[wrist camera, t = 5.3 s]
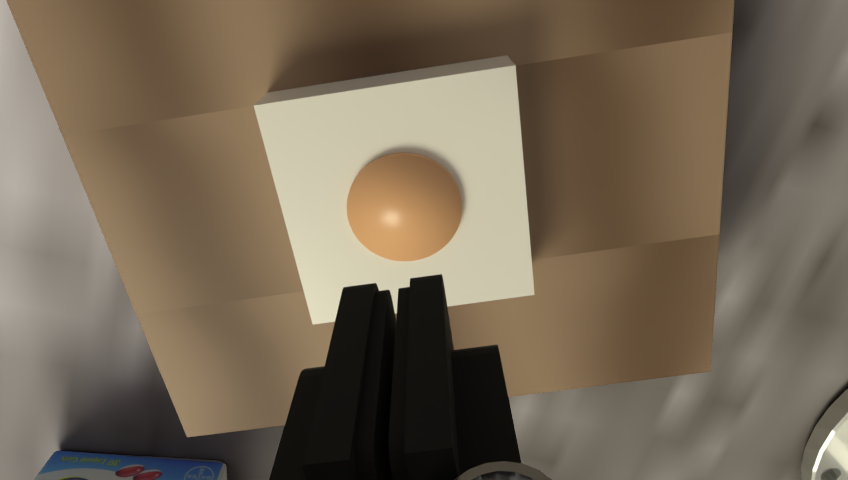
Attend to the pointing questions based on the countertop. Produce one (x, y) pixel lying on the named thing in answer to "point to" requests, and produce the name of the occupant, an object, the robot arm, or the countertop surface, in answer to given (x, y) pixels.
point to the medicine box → (128, 467)
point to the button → (403, 182)
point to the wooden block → (370, 56)
